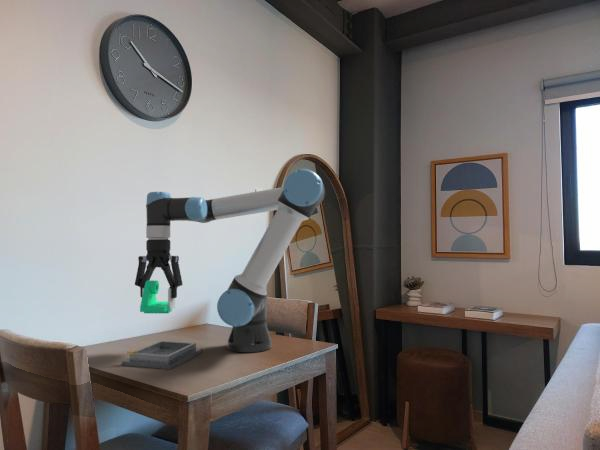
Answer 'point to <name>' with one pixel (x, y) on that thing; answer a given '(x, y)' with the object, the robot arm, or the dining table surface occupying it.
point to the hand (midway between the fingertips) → (158, 307)
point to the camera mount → (152, 299)
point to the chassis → (162, 355)
